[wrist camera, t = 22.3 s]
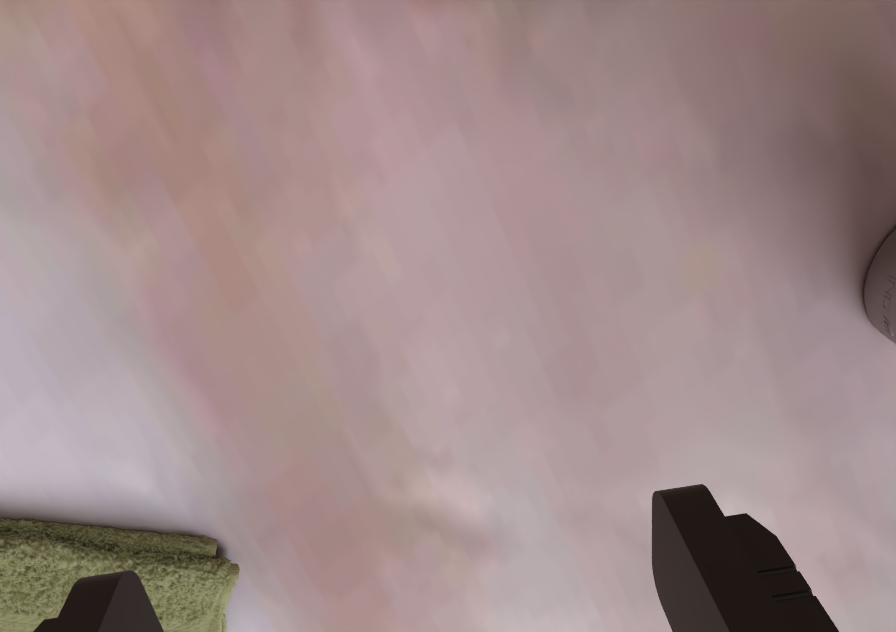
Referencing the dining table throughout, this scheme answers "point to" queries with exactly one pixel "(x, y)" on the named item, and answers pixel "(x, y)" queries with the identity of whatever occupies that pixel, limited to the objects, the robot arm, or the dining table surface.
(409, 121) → the dining table surface
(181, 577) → the washcloth
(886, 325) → the robot arm
